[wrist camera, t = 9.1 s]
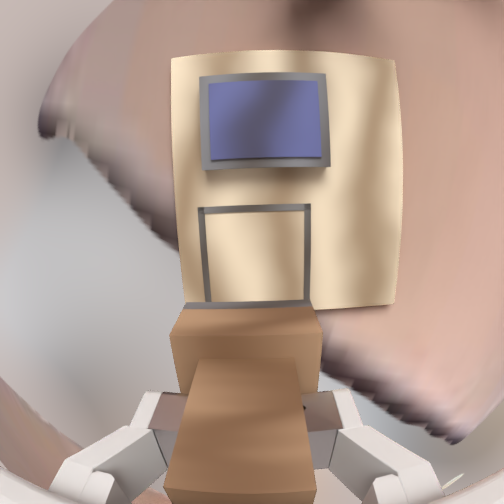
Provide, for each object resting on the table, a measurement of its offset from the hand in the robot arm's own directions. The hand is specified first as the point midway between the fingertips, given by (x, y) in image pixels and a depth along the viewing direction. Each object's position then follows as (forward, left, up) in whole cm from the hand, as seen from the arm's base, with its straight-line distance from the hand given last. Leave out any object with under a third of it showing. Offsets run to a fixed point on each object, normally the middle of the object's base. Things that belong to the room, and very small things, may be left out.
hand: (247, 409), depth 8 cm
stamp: (0, 0, -3) cm, 3 cm away
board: (-3, -6, -17) cm, 18 cm away
